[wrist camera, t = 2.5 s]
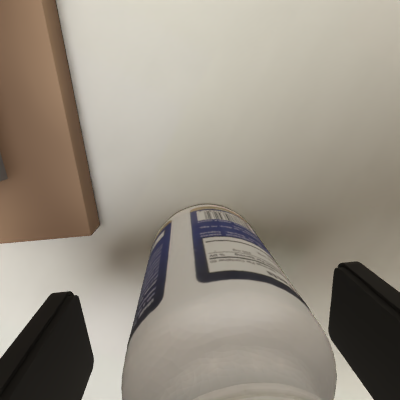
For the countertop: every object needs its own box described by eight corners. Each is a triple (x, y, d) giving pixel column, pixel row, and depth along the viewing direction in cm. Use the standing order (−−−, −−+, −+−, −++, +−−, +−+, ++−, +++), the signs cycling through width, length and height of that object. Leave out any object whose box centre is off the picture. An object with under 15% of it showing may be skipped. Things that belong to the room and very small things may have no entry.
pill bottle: (185, 312, 14) (192, 702, 4) (131, 235, 12) (-32, 579, 3) (273, 267, 13) (485, 594, 4) (228, 182, 12) (397, 386, 2)
